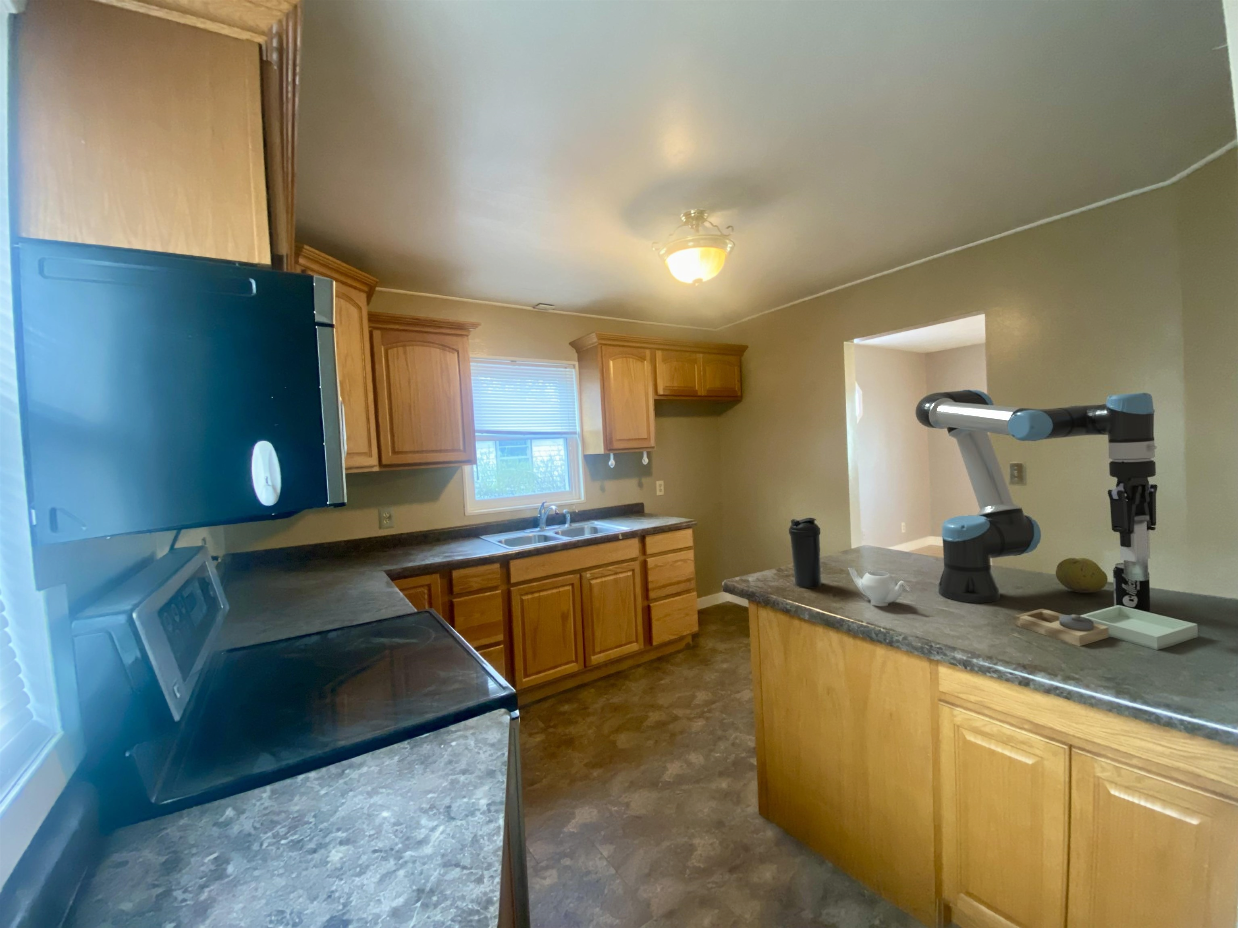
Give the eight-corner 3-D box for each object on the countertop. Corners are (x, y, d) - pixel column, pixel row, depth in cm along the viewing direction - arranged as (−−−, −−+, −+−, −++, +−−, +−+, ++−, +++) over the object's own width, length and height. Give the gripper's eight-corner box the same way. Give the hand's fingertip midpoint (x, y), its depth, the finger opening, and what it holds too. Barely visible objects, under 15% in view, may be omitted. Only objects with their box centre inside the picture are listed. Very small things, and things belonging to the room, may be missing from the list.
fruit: (1050, 593, 145) (1049, 560, 145) (1062, 583, 152) (1061, 551, 152) (1103, 602, 136) (1101, 566, 136) (1112, 591, 143) (1111, 557, 143)
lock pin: (1116, 577, 118) (1114, 515, 118) (1129, 573, 120) (1127, 512, 119) (1142, 582, 114) (1140, 517, 113) (1156, 578, 115) (1154, 514, 114)
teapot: (902, 616, 138) (900, 584, 138) (840, 598, 156) (838, 569, 156) (922, 608, 143) (920, 576, 142) (860, 591, 161) (858, 563, 160)
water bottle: (828, 587, 167) (824, 520, 166) (798, 589, 168) (793, 522, 166) (817, 578, 178) (812, 515, 176) (788, 581, 178) (784, 517, 176)
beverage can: (1157, 615, 126) (1156, 568, 125) (1127, 615, 127) (1125, 569, 126) (1136, 605, 132) (1135, 561, 131) (1107, 606, 133) (1106, 562, 133)
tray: (1079, 627, 123) (1079, 615, 122) (1118, 616, 127) (1118, 605, 127) (1157, 650, 109) (1156, 636, 109) (1197, 636, 113) (1197, 624, 113)
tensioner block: (1015, 625, 127) (1014, 606, 127) (1042, 617, 130) (1041, 599, 130) (1079, 646, 114) (1078, 624, 113) (1108, 637, 116) (1108, 616, 116)
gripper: (1128, 463, 109) (1131, 568, 111) (1176, 456, 114) (1179, 556, 115) (1087, 463, 117) (1091, 560, 118) (1134, 456, 121) (1138, 550, 123)
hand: (1135, 558), depth 117 cm, fingers closed on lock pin, 4 cm apart
